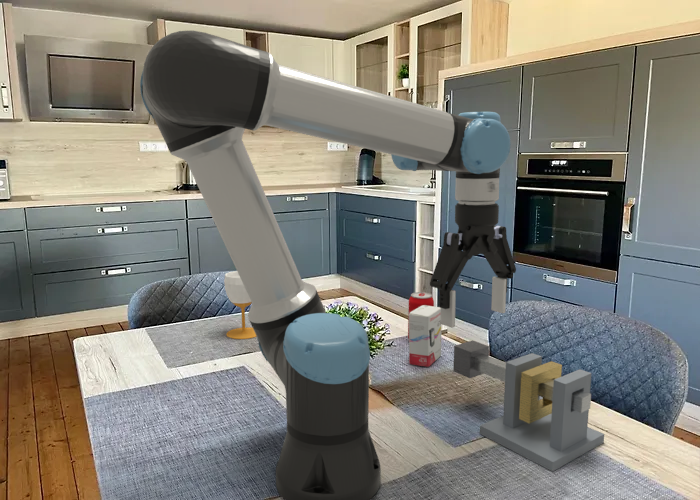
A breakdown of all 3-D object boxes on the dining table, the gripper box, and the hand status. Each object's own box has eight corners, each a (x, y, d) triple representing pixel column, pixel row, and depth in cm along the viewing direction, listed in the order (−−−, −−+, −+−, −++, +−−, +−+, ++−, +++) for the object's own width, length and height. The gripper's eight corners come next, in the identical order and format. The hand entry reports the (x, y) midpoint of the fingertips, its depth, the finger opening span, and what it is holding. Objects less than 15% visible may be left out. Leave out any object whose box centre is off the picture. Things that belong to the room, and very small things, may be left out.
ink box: (428, 368, 122) (429, 316, 120) (407, 364, 124) (407, 313, 122) (442, 356, 129) (443, 306, 127) (421, 352, 132) (422, 304, 130)
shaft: (575, 423, 84) (578, 392, 83) (453, 371, 104) (454, 345, 103) (594, 414, 87) (596, 383, 86) (471, 365, 106) (472, 340, 106)
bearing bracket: (552, 471, 83) (557, 392, 80) (479, 433, 94) (482, 363, 92) (603, 442, 91) (609, 370, 88) (530, 410, 102) (534, 345, 100)
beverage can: (405, 344, 137) (406, 296, 135) (410, 336, 143) (411, 290, 141) (430, 346, 136) (432, 298, 134) (434, 338, 141) (435, 292, 139)
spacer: (529, 423, 89) (532, 376, 87) (519, 418, 90) (521, 372, 89) (558, 409, 93) (561, 364, 92) (548, 405, 95) (551, 361, 94)
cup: (268, 331, 147) (266, 272, 144) (244, 341, 140) (242, 279, 137) (243, 326, 152) (240, 268, 149) (218, 335, 144) (216, 275, 142)
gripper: (441, 209, 88) (440, 337, 92) (538, 199, 102) (533, 310, 106) (409, 205, 94) (409, 326, 97) (505, 196, 108) (501, 302, 112)
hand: (473, 318), depth 102 cm, fingers open, 13 cm apart
